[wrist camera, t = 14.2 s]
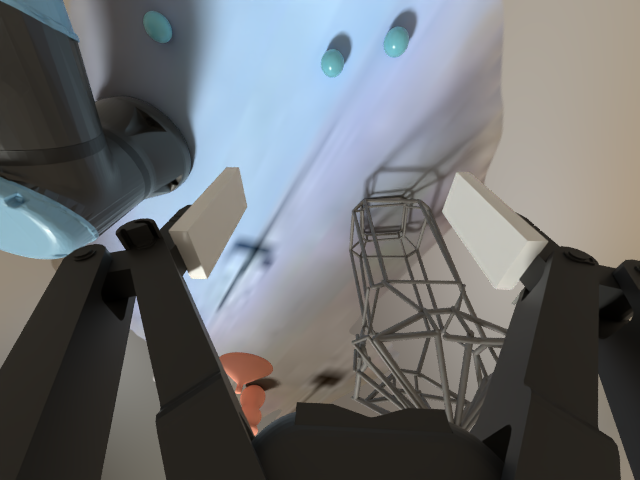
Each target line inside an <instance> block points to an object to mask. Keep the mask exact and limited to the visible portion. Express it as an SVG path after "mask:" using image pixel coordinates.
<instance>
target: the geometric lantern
mask: <svg viewBox="0 0 640 480" xmlns="http://www.w3.org/2000/svg"><path fill="white" fill-rule="evenodd" d="M367 202H401V203H399V204H386V205H372V206H368V204H367ZM411 203H418V204H419V206H420V207H417V206H408V205H407V204H411ZM363 204H364V206H365V207H364V208H363V206H362V205H363ZM399 205H404V207H403V216H402V226H401V230H400V231H399V232H398V233H385V234H376V233H375V229H374V226H373V222H372V219H371V215H370V211H369V208H373V207H386V206H399ZM359 207H360V210H357V209H358V208H359ZM405 207H406V211H405ZM408 208H416V209H421V210H422V212H423V214H424V216H425V218H424V222H423V225H422V229H421V232H420V236H419V239H418V243H417V246H416V247H415V246H414V245H413V244H412V243H411V242H410V241H409V240H408V239H407V238H406V237H405V231H406V221H407V212H408ZM364 210H366V213H367V217H368V221H369V225H370V229H371V233H372V234H368V235H366V234H364ZM426 210H427V212H426ZM355 212H360V227H359V223H358V220H357V216H356V213H355ZM404 216H405V221H404ZM429 216H430V218H431V220H430V218H429ZM354 221H355V225H356V230H357V234H358V238H359V241H358V242H357V243H356V244H355V245H354V246H353V247H352V244H353V232H354ZM431 221H432V222H431ZM427 222H428V225H429V227H430V229H431V231H432V233H433V235H434V237H435V239H436V241H437V243H438V245H439V248H440V250H441V252H442V254H443V256H444V258H445V260H446V262H447V264H448V266H449V268H450V271H451V273H452V275H453V277H454V279H455V281H428V278H427V275H426V272H425V268H424V265H423V262H422V259H421V256H420V253H419V247H420V243H421V240H422V237H423V233H424V230H425V227H426V223H427ZM432 223H433V224H432ZM403 225H404V231H403ZM401 231H402V233H403V236H401V237H400V234H399V233H400V232H401ZM361 234H362V235H361ZM381 235H398V238H388V239H377V237H376V236H381ZM364 236H366V239H365V238H364ZM368 236H372V237H373V240H368ZM403 237H404V238H405V239H406V240H407V241H408V242H409V243H410V244H411V246H412V247H413V248H414V249H415V250H414V251H412V252H411V253H409V254H408V255H406V253H405V250H404V246H403V243H402V240H401V239H402V238H403ZM398 239H399V240H400V243H401V247H402V250H403V253H404V256H382V255H381V251H380V248H379V244H378V241H386V240H398ZM363 240H364V241H365V243H363ZM373 241H374V245H375V248H376V252H377V256H367V254H366V251H365V245H366V243H367V242H373ZM359 243H360V246H361V254H360V255H358V254H357V253H356V252H354V251H353V250H352V249H353V248H354V247H355V246H356V245H358V244H359ZM349 252H350V257H351V262H352V267H353V272H354V278H355V283H356V288H357V293H358V298H359V303H360V308H361V314H362V319H363V321H362V330H361V334H360V337H359V334H356V340H354V341H352V345H353V346H354V347H355V348H356V349H354V360H353V371H354V372H356V380H355V389H354V397H353V396H352V397H351V398H352V399H353V400H355V401H357V402H359V403H360V404H362V405H364V406H366V407H368V408H370V409H372V410H373V411H375V412H377V413H379V414H380V415H384V414H388V413H391V412H390V411H387V410H385V409H383V408H381V407H379V406H377V405H375V404H376V403H382V402H387V401H391V402H392V403H393V404H394V405H396V406H397V407H398V408H399V409H400V410H402V409H406V408H421V409H431V407H430V406H429V404H428V403H427V401H426V399H429V400H435V401H441V402H444V405H445V411H446V415H447V418H448V421H449V422H451V423H454V424H456V425H458V426H460V427H462V428H463V429H465V430H467V431H469V430H470V428H471V427H472V426H473V425H474V424H475V423H476V421H477V419H478V417H479V414H480V411H481V408H482V405H483V402H484V399H485V396H486V393H487V390H488V387H489V384H490V381H491V378H492V375H493V373H494V372H493V373H492V374H490V375H489V376H488V375H487V372H486V370H485V368H484V365H483V363H482V360H481V358H480V355H479V354H480V353H481V352H482V351H483V350H485V349H486V348H487V347H488V348H489V350H490V352H491V354H492V356H493V357H494V359H495V361H496V363H497V361H498V357H497V356H496V353H495V351H494V350H493V348H492V347H494V348H502V346H503V343H504V340H505V338H487V337H486V335H485V333H484V331H483V329H482V327H481V326H483V327H486V328H488V329H491V330H493V331H496V332H498V333H501V334H503V335H506V334H507V331H508V329H504V328H502V327H500V326H497V325H495V324H492V323H490V322H487V321H485V320H482V319H479V318H477V316H476V314H475V312H474V310H473V307H472V305H471V303H470V301H469V299H468V297H467V295H466V291H465V286H466V285H465V284H462V282H461V279H460V277H459V275H458V272H457V270H456V268H455V265H454V263H453V261H452V258H451V256H450V254H449V252H448V249H447V246H446V244H445V242H444V239H443V237H442V235H441V232H440V230H439V228H438V225H437V223H436V221H435V218H434V216H433V214H432V212H431V209H430V208H429V206H427V205H426V204H425V203H424V202H423V201H422V200H420V199H403V198H401V197H393V198H379V199H363V200H362V201H361V202H360V203H359V204H358V205H357V206H356V207H355V208H354V209H353V210H352V219H351V233H350V247H349ZM415 253H417V257H418V260H419V263H420V266H421V270H422V273H423V276H424V279H425V280H419V281H418V280H414V277H413V274H412V271H411V268H410V265H409V262H408V259H407V258H408V257H410V256H411V255H413V254H415ZM353 254H354V255H355V256H357V257H358V258H359V259H360V267H361V275H362V282H363V289H364V296H365V305H363V300H362V296H361V291H360V286H359V281H358V277H357V272H356V267H355V263H354V258H353ZM362 255H363V256H362ZM362 258H363V259H364V263H365V267H366V272H367V276H368V280H369V284H370V288H371V289H372V290H374V289H377V290H376V295H375V300H374V305H373V310H372V314H370V307H369V301H368V298H369V291H370V288H369V287H367V288H366V281H365V275H364V268H363V261H362ZM368 258H378V260H379V264H380V268H381V271H382V275H383V278H384V280H382V281H381V283H378V284H375V285H374V282H373V278H372V274H371V270H370V266H369V262H368ZM383 258H404V259H405V262H406V265H407V268H408V272H409V275H410V278H411V280H388V277H387V273H386V270H385V266H384V262H383ZM389 283H409V284H413V287H414V291H415V294H416V297H417V300H418V303H419V306H418V305H417V304H415V303H414V302H413V301H411V300H410V299H409V298H407V297H406V296H405V295H403V294H402V293H401V292H399V291H398V290H397V289H395V288H394V287H393V286H392V285H390V284H389ZM416 284H426V286H427V289H428V292H429V295H430V298H431V302H432V305H433V308H434V309H426V308H423V305H422V302H421V299H420V296H419V293H418V289H417V287H416ZM430 284H457V285H458V287H459V290H460V292H461V293H460V296H459V299H458V300H457V302H456V304H455V306H452V307H451V308H440V309H438V308H437V305H436V302H435V299H434V296H433V293H432V290H431V287H430ZM384 286H386V287H387V288H388V289H390V290H391V291H392V292H393V293H395V294H396V295H397V296H399V297H400V298H401V299H403V300H404V301H405V302H406V303H408V304H409V305H410V306H412V307H413V308H414V309H415V310H416V311H418V312H419V313H418V314H415V315H413V316H412V317H410V318H408V319H406V320H404V321H402V322H400V323H398V324H396V325H394V326H392V327H390V328H388V329H386V330H384V331H382V332H380V333H375V331H374V330H373V327H372V323H373V318H374V313H375V308H376V303H377V298H378V293H379V288H381V287H384ZM462 299H464V301H465V303H466V305H467V308H468V310H469V312H470V314H471V315H469V314H467V313H464V312H461V311H459V310H460V306H461V302H462ZM366 312H367V317H368V325H369V326H368V325H367V320H366ZM440 314H450V316H449V318H448V320H447V322H446V324H445V326H443V324H442V320H441V317H440ZM431 315H436V317H437V321H438V324H439V327H440V329H438V327H437V325H436V324H435V322H434V320H433V319H432V317H431ZM454 315H456V317H457V318H458V320H459V321H460V322H461V324H462V326H463V327H464V329H465V330H466V332H467V336H458V335H450V334H448V333H447V332H445V331H446V329H447V327H448V325H449V324H450V322H451V320H452V318H453V316H454ZM421 318H423V319H424V323H425V326H426V329H427V331H421V332H411V333H395V332H397V331H398V330H401V329H402V328H404V327H406V326H408V325H410V324H412V323H414V322H416V321H418V320H420V319H421ZM427 318H428V320H429V322H430V324H431V325H432V327H433V329H434V330H432V331H431V330H430V327H429V324H428V321H427ZM463 318H464V319H466V320H469V321H471V322H474V323H475V325H476V327H477V329H478V332H479V334H480V336H481V338H476V337H474V332H473V331H472V330H470V329H469V327H468V325H467V324H466V323H465V321H464V320H463ZM365 329H366V330H367V331H368V335H364V332H365ZM441 333H445V334H444V335H443V339H444V340H446V341H453V342H458V343H459V344H461V345H462V346H464V347H465V350H464V357H463V365H462V370H461V378H460V384H459V391H458V395H457V394H456V393H454V392H452V391H450V390H449V386H448V380H447V373H446V366H445V360H444V353H443V347H442V340H441ZM370 335H374V336H373V337H372V338H371V337H370ZM431 337H434V338H435V344H436V350H437V357H438V364H439V371H440V378H441V385H440V384H439V383H437V382H435V381H434V380H432V379H430V378H429V377H427V376H425V375H423V374H422V373H420V372H421V369H422V366H423V362H424V359H425V355H426V352H427V348H428V345H429V341H430V338H431ZM419 338H426V341H425V344H424V348H423V351H422V355H421V358H420V361H419V364H418V368H417V371H413V370H406V369H400V368H399V366H398V365H397V363H396V362H395V360H394V359H393V358H392V356H391V355H390V353H389V352H388V350H387V349H386V347H385V346H384V344H383V343H382V342H388V341H398V340H409V339H419ZM367 339H368V340H369V342H370V343H371V344H372V346H373V347H374V349H375V350H376V351H377V353H378V354H379V356H380V357H381V358H382V360H383V361H384V363H385V364H386V365H387V367H388V368H389V370H390V371H391V372H392V373H391V374H390V375H389V376H388V377H386V376H385V375H384V374H383V373H382V372H381V371H380V370H379V369H378V368H377V367H376V366H375V365H374V364H373V363H372V362H371V358H370V357H369V356H368V355H367V351H366V348H365V346H366V340H367ZM463 343H465V344H463ZM473 344H481V345H480V346H479V347H478V348H477V349H476V350H472V345H473ZM471 353H473V357H474V363H475V369H476V375H477V381H478V390H477V392H476V394H475V396H474V399H473V401H472V402H469V401H467V400H466V399H465V394H466V387H467V380H468V373H469V366H470V359H471ZM357 358H358V363H357ZM362 361H363V364H362ZM367 367H369V368H370V369H371V370H372V371H373V372H374V373H375V374H376V375H377V376H378V377H379V378H380V379H381V380H382V381H383V382H382V383H381V384H380V385H378V384H377V383H376V382H375V381H373V380H372V379H371V378H370V377H368V376H367V375H366V374H365V373H363V372H364V371H365V370H366V368H367ZM480 367H481V368H480ZM356 369H357V371H356ZM481 370H482V372H483V375H484V378H483V379H482V374H481ZM404 374H409V375H414V379H415V389H414V388H413V386H412V385H411V384H410V382H409V381H408V379H407V378H406V377H405V375H404ZM417 376H418V377H420V378H422V379H424V380H425V381H427V382H429V383H430V384H432V385H433V386H435V387H437V388H439V389H440V390H442V391H443V397H440V396H434V395H428V394H423V393H421V391H420V390H418V380H417ZM361 378H363V379H364V380H365V381H366V382H367V383H369V384H370V385H371V386H372V387H374V388H375V390H374V391H373V392H372V393H371V394H370V395H369V396H368V397H367V398H366V399H362V398H360V397H359V391H360V384H361ZM392 379H393V383H391V382H390V381H391V380H392ZM396 379H397V381H398V382H399V383H400V385H401V387H402V388H403V389H397V388H396ZM385 386H387V387H388V388H389V389H390V390H391V392H392V393H393V395H391V394H390V393H388V392H387V391H386V390H385V389H383V388H384V387H385ZM379 392H380V393H381V394H382V395H383V396H385V397H379V398H374V397H375V396H376V395H377V394H378V393H379ZM403 394H407V395H408V396H409V398H410V399H411V400H412V402H413V403H414V405H415V406H416V407H415V406H414V405H413V404H412V403H411V402H410V401H409V400H408V399H407V398H406V397H405V396H404V395H403ZM450 396H452V397H454V398H455V399H452V398H450ZM373 398H374V399H373ZM398 400H399V401H398ZM451 403H452V404H456V411H455V417H454V419H453V413H452V406H451ZM464 406H465V408H464V410H463V407H464Z"/></svg>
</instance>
